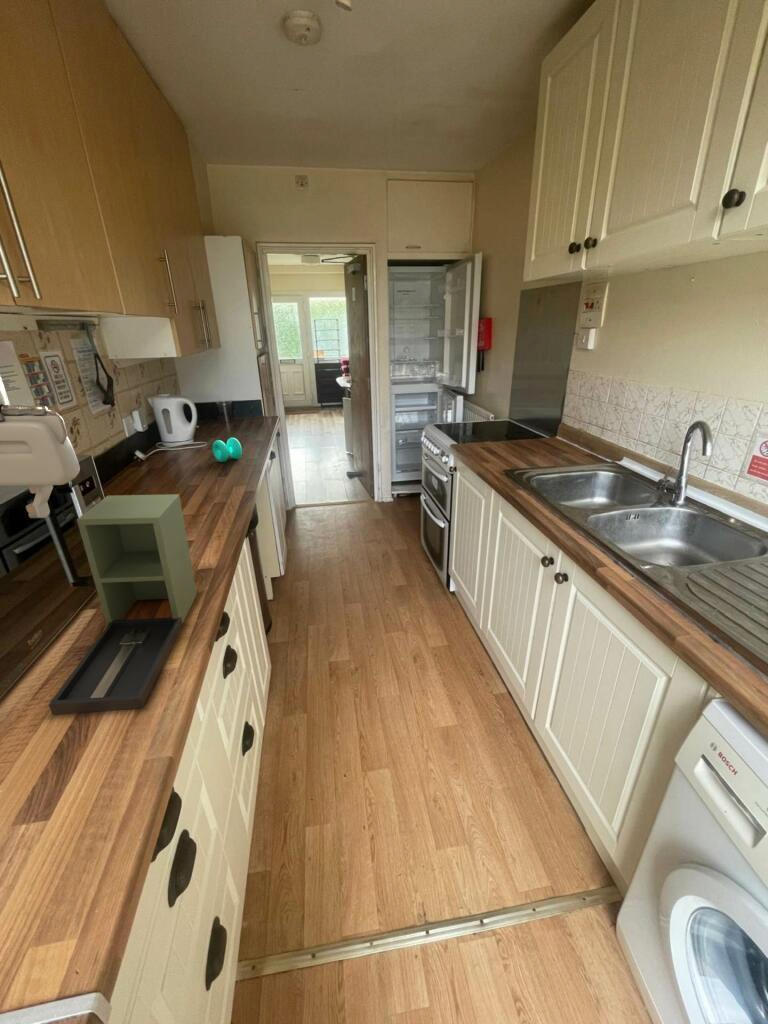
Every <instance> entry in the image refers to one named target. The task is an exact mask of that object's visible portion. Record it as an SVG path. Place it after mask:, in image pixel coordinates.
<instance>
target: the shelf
mask: <svg viewBox="0 0 768 1024" xmlns="http://www.w3.org/2000/svg"><path fill="white" fill-rule="evenodd" d="M76 522H77V526H78V529H79V533H80V536H81V540H82V543H83V548H84V551H85V554H86V558H87V561H88V565H89V568H90V572H91V575H92V579H93V581H94V585H95V589H96V592H97V596H98V600H99V603H100V607H101V610H102V613H103V617H104V620H105V623H106V626H107V625H108V624H109V622H112V621H113V620H124V618H125V617H126V616H127V614H128V613H129V612H130V610H131V608H132V607H133V606H134V604H135V603H136V602H137V601H144V600H145V601H147V600H166V599H168V602H169V607H170V613H171V617H173V619H179V617H181V619H182V624H183V623H184V622H185V619H186V618H187V615H188V614H189V611H190V610H191V607H192V605H193V603H194V601H195V599H196V597H197V595H198V594H197V588H196V582H195V576H194V571H193V564H192V559H191V554H190V553H191V552H190V547H189V542H188V537H187V532H186V524H185V520H184V514H183V508H182V501H181V497H180V494H179V493H177V494H176V493H175V494H173V493H172V494H171V493H170V494H124V495H123V494H119V495H117V494H116V495H106V496H105V497H104V498H102V500H100V501H99V502H97V503H96V504H95V505H94V506H92V507H91V508H90V509H88V510H87V511H86V512H85V513H83V514H81V516H79V517H78V518H77V519H76Z"/></svg>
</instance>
